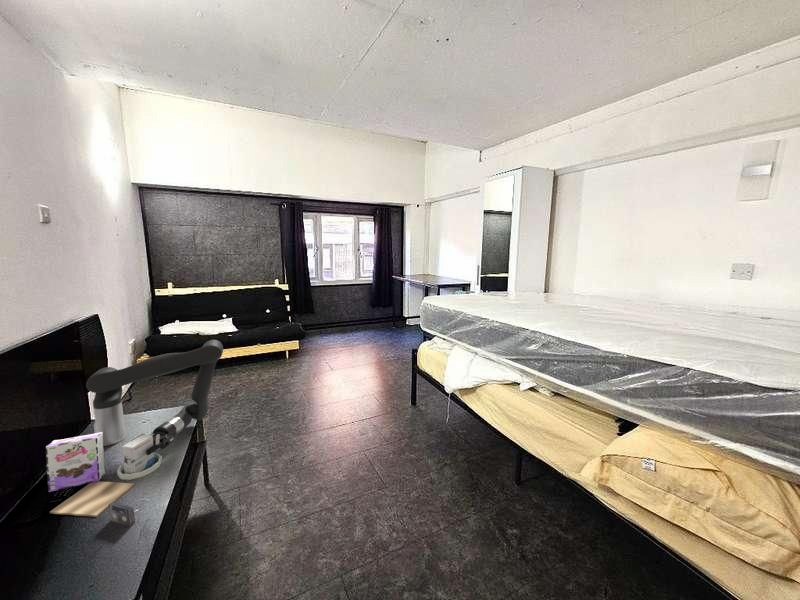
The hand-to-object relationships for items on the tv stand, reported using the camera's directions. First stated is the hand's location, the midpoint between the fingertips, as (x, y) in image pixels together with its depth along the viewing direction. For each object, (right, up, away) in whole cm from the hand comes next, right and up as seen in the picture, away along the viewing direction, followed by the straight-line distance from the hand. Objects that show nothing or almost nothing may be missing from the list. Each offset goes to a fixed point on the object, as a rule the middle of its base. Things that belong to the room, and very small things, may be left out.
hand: (136, 452), depth 123 cm
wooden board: (-3, -9, -14) cm, 17 cm away
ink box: (0, -7, +2) cm, 7 cm away
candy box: (-16, -8, -7) cm, 19 cm away
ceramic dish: (0, -7, +2) cm, 7 cm away
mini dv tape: (+15, -11, -23) cm, 29 cm away
